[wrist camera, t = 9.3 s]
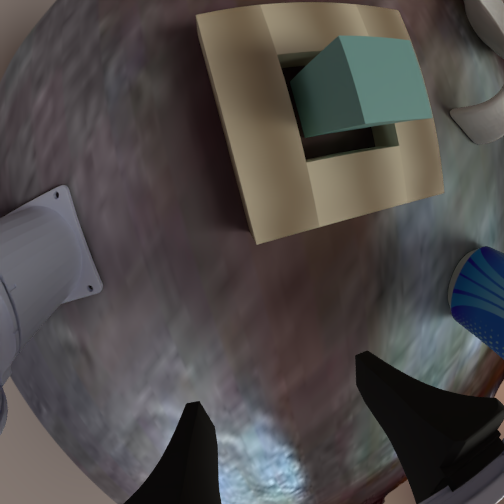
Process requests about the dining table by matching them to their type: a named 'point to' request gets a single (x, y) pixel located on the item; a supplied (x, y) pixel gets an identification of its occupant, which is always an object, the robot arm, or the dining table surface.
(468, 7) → the spoon rest
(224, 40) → the board
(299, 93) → the teal block
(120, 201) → the dining table surface
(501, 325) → the beer can
